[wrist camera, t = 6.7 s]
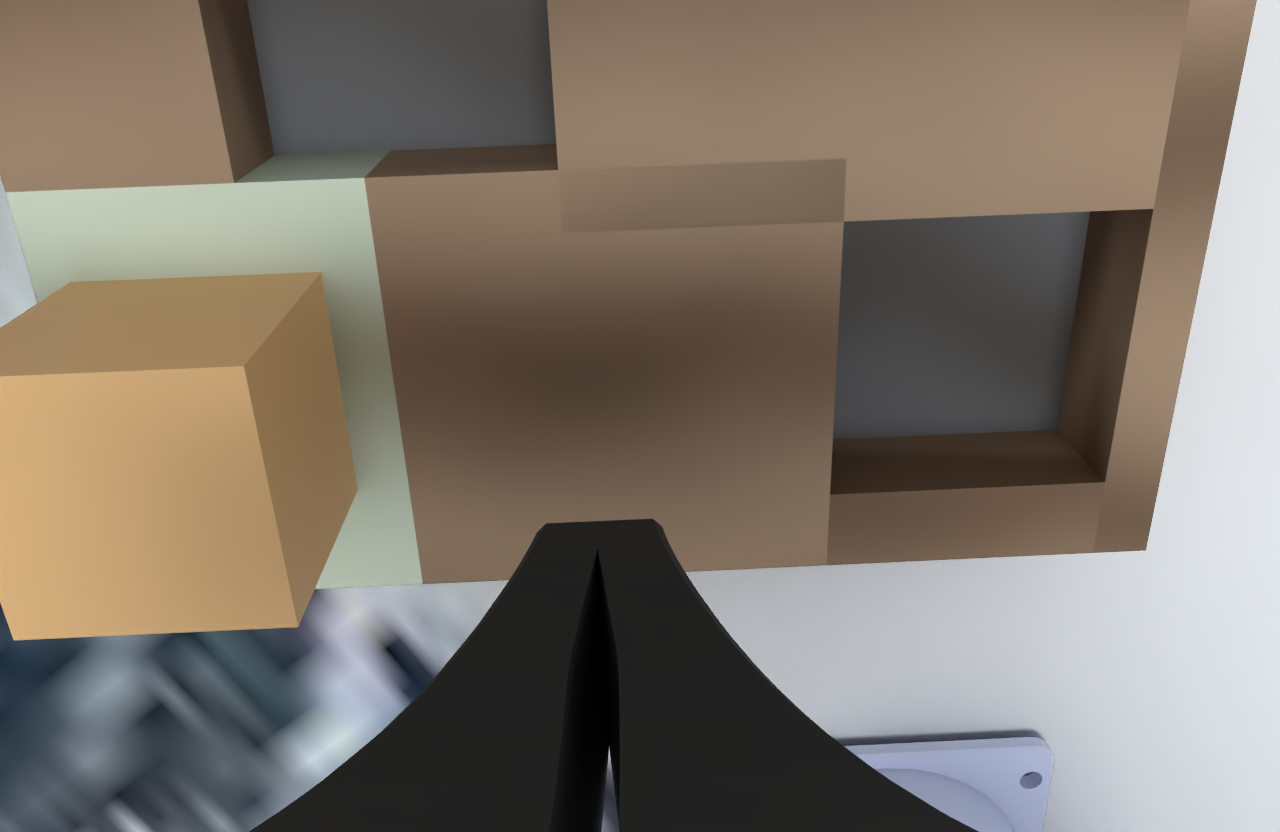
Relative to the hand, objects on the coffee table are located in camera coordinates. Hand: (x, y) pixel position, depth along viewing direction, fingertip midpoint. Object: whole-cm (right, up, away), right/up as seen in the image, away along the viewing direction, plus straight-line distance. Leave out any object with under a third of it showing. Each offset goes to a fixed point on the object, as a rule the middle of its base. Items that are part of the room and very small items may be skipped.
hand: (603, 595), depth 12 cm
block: (-7, +2, +6) cm, 9 cm away
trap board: (0, +7, +7) cm, 9 cm away
